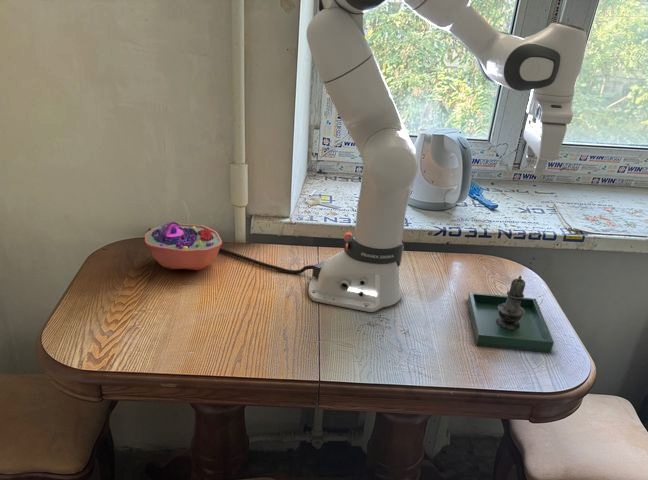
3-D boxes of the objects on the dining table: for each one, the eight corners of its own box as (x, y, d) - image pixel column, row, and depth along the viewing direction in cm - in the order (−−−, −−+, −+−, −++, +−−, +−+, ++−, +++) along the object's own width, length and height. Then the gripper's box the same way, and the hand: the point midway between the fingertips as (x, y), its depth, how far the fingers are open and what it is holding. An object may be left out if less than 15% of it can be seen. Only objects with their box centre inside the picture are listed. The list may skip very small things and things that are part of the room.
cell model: (199, 289, 144) (197, 245, 138) (132, 270, 151) (127, 227, 144) (236, 262, 157) (235, 222, 151) (173, 246, 164) (169, 206, 157)
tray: (476, 345, 129) (478, 334, 127) (467, 301, 145) (469, 292, 144) (550, 352, 127) (553, 342, 126) (532, 308, 144) (535, 298, 142)
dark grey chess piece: (522, 331, 133) (536, 283, 126) (495, 327, 134) (507, 279, 127) (519, 318, 138) (533, 271, 131) (493, 315, 139) (505, 268, 132)
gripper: (525, 96, 140) (511, 156, 148) (543, 115, 123) (527, 181, 131) (553, 98, 140) (537, 158, 147) (575, 117, 123) (556, 184, 130)
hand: (532, 169), depth 139 cm, fingers open, 8 cm apart
